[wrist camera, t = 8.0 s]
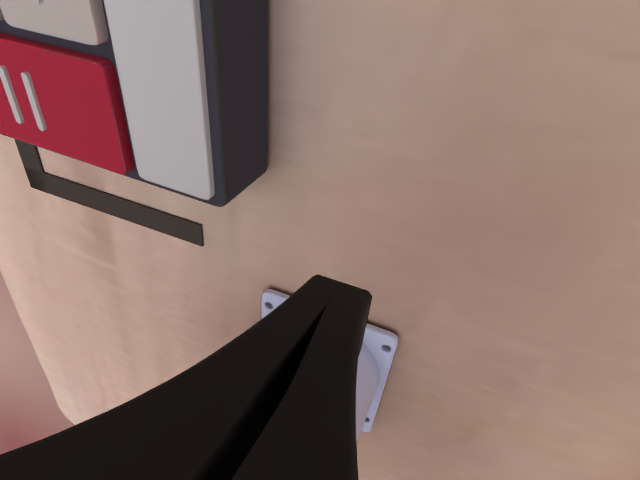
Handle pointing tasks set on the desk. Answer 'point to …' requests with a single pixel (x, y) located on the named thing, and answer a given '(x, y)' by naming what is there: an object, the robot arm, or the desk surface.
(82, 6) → the calculator
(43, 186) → the strip
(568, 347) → the desk surface
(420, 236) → the desk surface
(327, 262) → the desk surface
